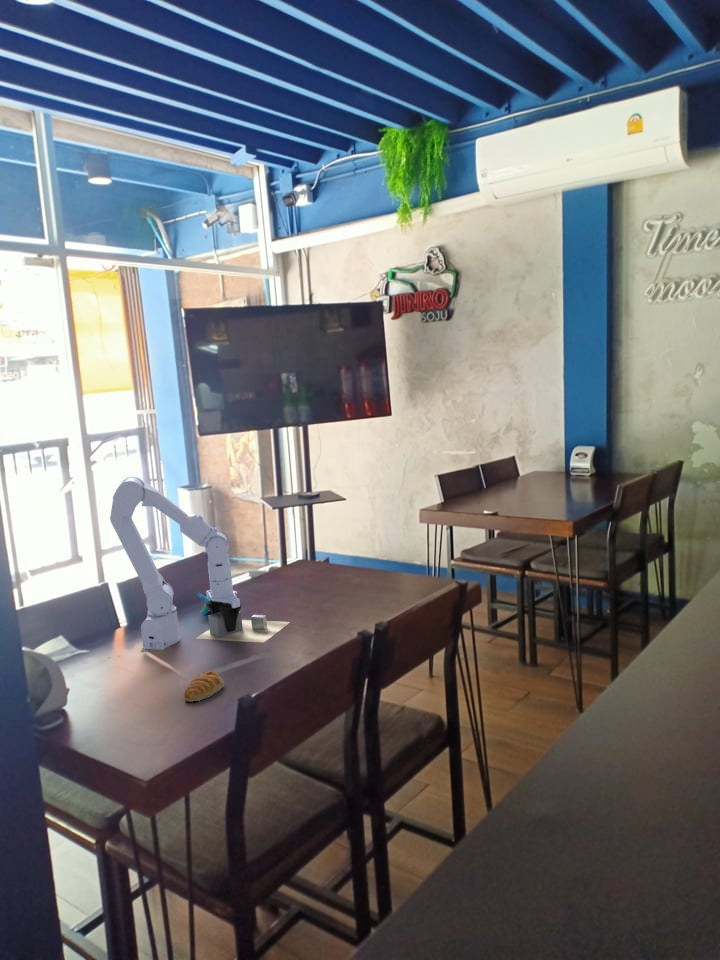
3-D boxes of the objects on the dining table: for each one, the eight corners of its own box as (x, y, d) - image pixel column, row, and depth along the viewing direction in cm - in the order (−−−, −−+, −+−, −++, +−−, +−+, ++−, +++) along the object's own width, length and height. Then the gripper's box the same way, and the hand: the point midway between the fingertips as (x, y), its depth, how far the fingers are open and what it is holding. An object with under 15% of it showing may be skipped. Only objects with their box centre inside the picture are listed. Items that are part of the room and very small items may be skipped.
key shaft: (264, 630, 193) (263, 617, 192) (252, 629, 194) (250, 616, 193) (267, 628, 194) (265, 615, 194) (255, 627, 195) (253, 614, 195)
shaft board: (264, 646, 184) (263, 642, 183) (195, 642, 191) (195, 638, 191) (290, 625, 197) (290, 622, 197) (226, 622, 205) (225, 618, 205)
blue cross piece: (230, 613, 207) (201, 592, 205) (217, 630, 206) (188, 610, 204) (225, 607, 218) (197, 588, 216) (212, 624, 217) (185, 604, 214)
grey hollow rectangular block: (242, 630, 194) (240, 612, 193) (219, 637, 190) (217, 619, 189) (233, 626, 198) (231, 608, 197) (210, 633, 193) (207, 615, 193)
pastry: (203, 706, 153) (201, 688, 152) (176, 703, 155) (174, 686, 155) (227, 686, 162) (225, 670, 161) (200, 684, 164) (198, 668, 163)
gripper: (248, 579, 188) (253, 630, 190) (220, 570, 200) (226, 618, 202) (223, 586, 184) (229, 638, 186) (197, 576, 195) (202, 625, 197)
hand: (226, 628), depth 193 cm, fingers closed on grey hollow rectangular block, 5 cm apart
